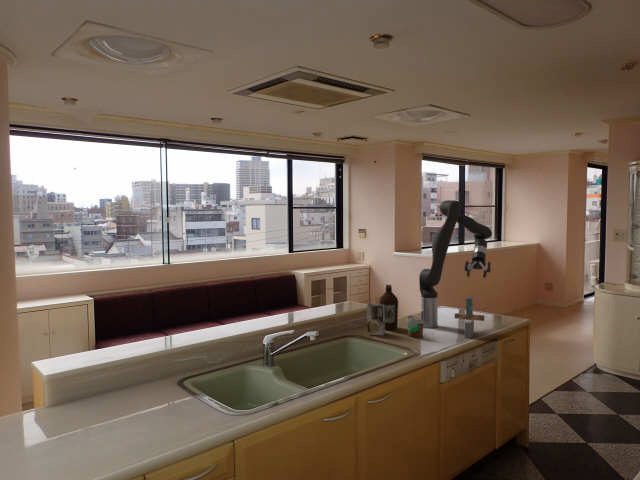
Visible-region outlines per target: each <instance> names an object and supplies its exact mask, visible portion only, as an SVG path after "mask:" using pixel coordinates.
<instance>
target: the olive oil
mask: <svg viewBox="0 0 640 480" xmlns="http://www.w3.org/2000/svg"><path fill="white" fill-rule="evenodd" d="M378 304H384V309H385V331H395V330H397V329H398V317H399V314H398V313H399V299H398V297H397V295H395V294H394V293H393V290H392V285H391V284H386V285H385V292H384V293H383V294H382V296H380V298H379V302H378Z"/></svg>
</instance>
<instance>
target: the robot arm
mask: <svg viewBox="0 0 640 480" xmlns="http://www.w3.org/2000/svg"><path fill="white" fill-rule="evenodd" d="M439 210H440V213H441V215H443V216H445V217H446V218H445V221H444V223H443V225H442V226H441V227H440V228H439V229H438V231H437V232H436V233H435V235H434V238H433V240H432V243H431V252H432V253H431V254H432V263H431V265H430V266H431V267H430V268H423V269H422V270H421V271H420V273H419V279H418V280H419V282H418V283H419V284H418V285H419V292H420V295H421V296H420V297H421V298H420V299H421V301H420V303H421V304H420V307H421V309H420V320H423V321H424V324H423V328H427V329H434V328H435V329H436V328H437V327H438V323H439V322H438V321H439V317H438V312H439V310H438V307H439V305H438V300H439V299H438V297H439V296H438V295H439V294H438V292H437V290H435V288H434V287H436V286H437V285H438V284H439V283H440V281H441V278H442V274H443V269H444V268H443V267H444V263H445V261H446V260H445V259H446V257H447V253H448V249H449V247H450V244H451V240H452V237H453V233H454V231H455V227H456V225H457V224H459V225H460V226H462V227H463V228H465V229H466V230H467V231H468V232H470V233H472V234H473V240H474V248H473V250H472V251H473V252H472V258H471V261H468V260H466V261H465V264H464V271H465V272H466V276H467V277H468V278H470V275H471V272H473V271H474V270H481V271H483V272H482V273H483V275H482V278H483V279H485V278H486V277H487V273H491V271H492V270H491V266H492V264H491V263H492V262H491V261H488V262H486V259H487V255H488V254H487V253H488V251H487V249H488V242H487V240H488V239H490V238H492V235H493V232H492V230H491V228H490V227H488V226H487V225H484V224H481V223H479V222H477V220H475V219H474V218H472V217H470V216H468V215H467V214H464V213H463V212H462V204H461V202H460V201H459V200H453V199H452V200H449V199H448V200H444V201H442V202H441V203H440V205H439ZM486 267H487V268H486Z"/></svg>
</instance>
